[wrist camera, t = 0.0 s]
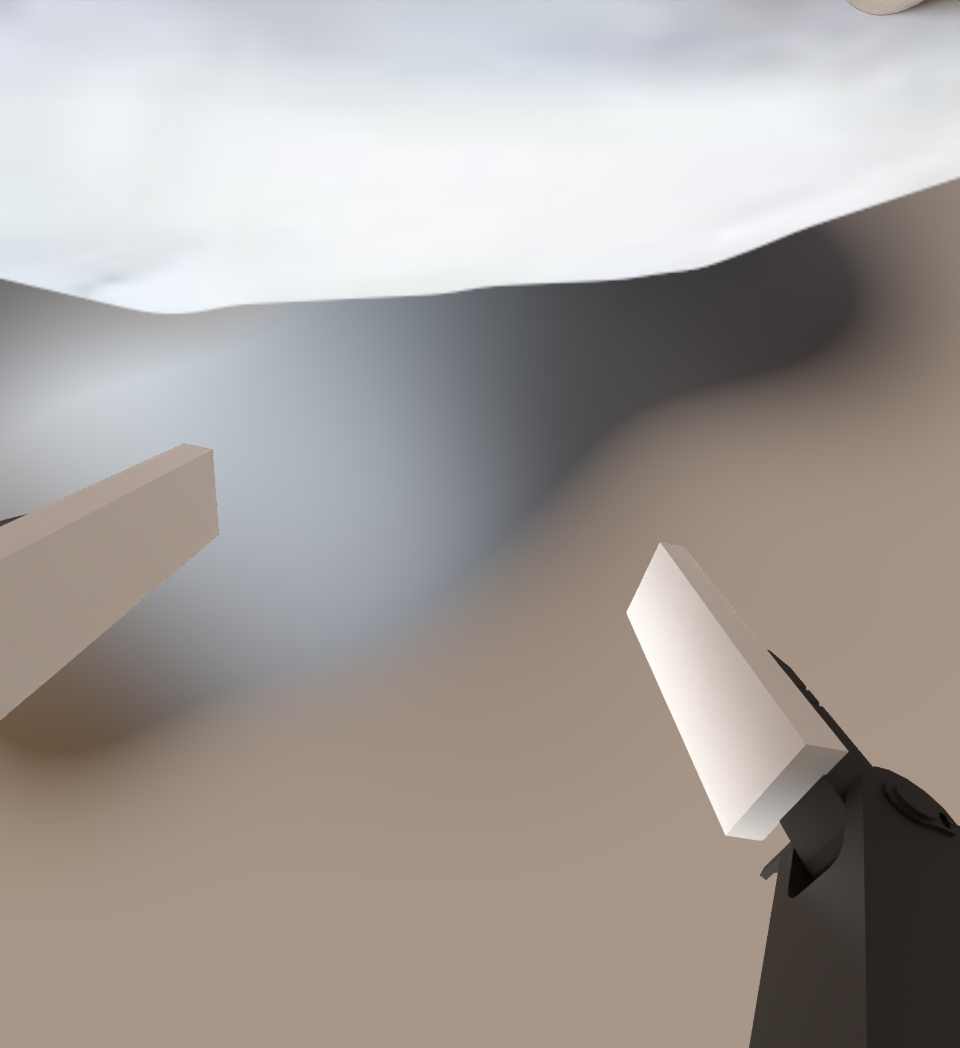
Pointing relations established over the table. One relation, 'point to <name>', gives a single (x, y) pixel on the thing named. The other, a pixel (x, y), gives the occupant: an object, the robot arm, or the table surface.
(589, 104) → the table surface
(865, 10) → the jar
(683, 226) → the table surface
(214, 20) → the table surface
